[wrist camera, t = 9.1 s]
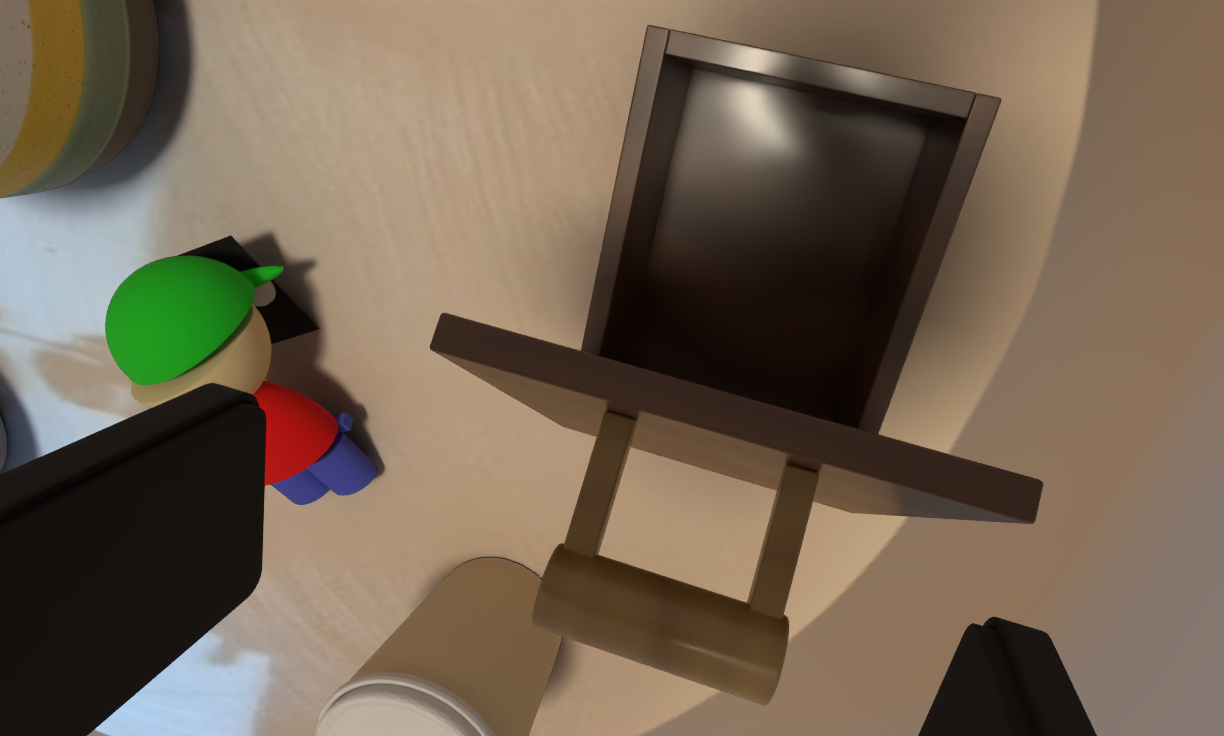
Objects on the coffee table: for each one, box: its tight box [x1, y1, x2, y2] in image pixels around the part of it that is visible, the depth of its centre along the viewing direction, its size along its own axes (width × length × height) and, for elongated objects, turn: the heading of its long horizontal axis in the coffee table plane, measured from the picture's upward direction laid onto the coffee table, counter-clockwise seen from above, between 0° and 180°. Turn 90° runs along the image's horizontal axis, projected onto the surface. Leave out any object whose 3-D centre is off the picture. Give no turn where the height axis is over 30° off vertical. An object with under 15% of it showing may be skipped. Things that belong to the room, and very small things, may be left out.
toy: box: [105, 236, 377, 505], centre depth 39 cm, size 8×8×15 cm
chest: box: [581, 25, 1001, 434], centre depth 31 cm, size 15×12×8 cm
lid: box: [430, 313, 1043, 705], centre depth 21 cm, size 15×12×6 cm
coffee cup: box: [314, 558, 562, 736], centre depth 39 cm, size 9×9×12 cm
